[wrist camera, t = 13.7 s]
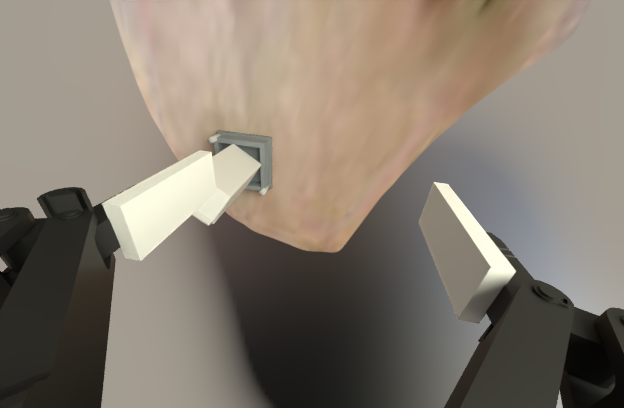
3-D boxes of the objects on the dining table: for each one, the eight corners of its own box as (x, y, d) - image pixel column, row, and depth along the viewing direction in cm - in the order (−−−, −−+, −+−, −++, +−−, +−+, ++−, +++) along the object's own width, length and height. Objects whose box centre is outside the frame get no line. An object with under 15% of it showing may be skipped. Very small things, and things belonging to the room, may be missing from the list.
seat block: (218, 130, 52) (206, 136, 48) (272, 137, 51) (264, 143, 47) (224, 180, 58) (213, 189, 54) (272, 187, 57) (265, 197, 53)
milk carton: (246, 187, 54) (200, 238, 38) (219, 167, 53) (159, 213, 37) (262, 164, 51) (218, 210, 35) (233, 142, 50) (173, 180, 33)
